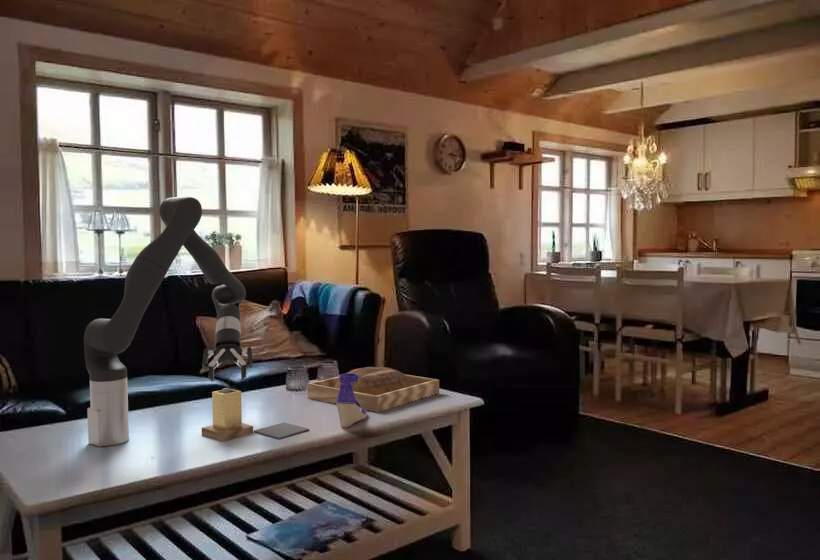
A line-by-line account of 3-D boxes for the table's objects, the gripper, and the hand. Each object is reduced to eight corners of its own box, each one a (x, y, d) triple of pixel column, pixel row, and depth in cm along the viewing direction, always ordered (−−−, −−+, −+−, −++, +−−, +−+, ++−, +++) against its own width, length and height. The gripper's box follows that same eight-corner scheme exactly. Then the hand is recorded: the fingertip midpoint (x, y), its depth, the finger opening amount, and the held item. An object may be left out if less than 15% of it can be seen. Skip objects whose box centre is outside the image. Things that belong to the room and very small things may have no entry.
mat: (278, 439, 182) (278, 437, 182) (253, 432, 189) (253, 430, 189) (309, 430, 191) (309, 428, 191) (283, 424, 198) (283, 422, 198)
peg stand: (223, 441, 181) (222, 394, 180) (201, 434, 187) (200, 389, 186) (253, 433, 188) (252, 388, 188) (231, 427, 195) (230, 383, 194)
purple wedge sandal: (374, 413, 210) (373, 365, 209) (352, 430, 191) (351, 378, 190) (349, 411, 212) (349, 364, 211) (325, 428, 193) (325, 376, 192)
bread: (320, 395, 236) (319, 367, 235) (378, 384, 254) (378, 358, 253) (366, 408, 216) (365, 378, 216) (425, 395, 234) (425, 367, 234)
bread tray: (376, 412, 211) (376, 396, 210) (307, 397, 231) (307, 383, 231) (439, 393, 236) (439, 379, 236) (372, 382, 256) (372, 369, 256)
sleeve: (224, 430, 184) (224, 394, 183) (212, 427, 187) (212, 391, 187) (241, 426, 188) (241, 391, 187) (229, 423, 191) (229, 388, 191)
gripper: (203, 327, 201) (201, 373, 190) (251, 326, 204) (252, 370, 193) (204, 343, 206) (202, 387, 196) (252, 341, 209) (252, 384, 199)
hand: (227, 379), depth 194 cm, fingers open, 8 cm apart
